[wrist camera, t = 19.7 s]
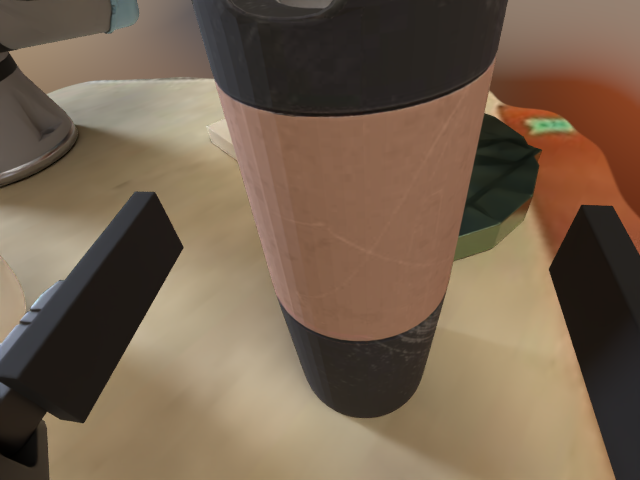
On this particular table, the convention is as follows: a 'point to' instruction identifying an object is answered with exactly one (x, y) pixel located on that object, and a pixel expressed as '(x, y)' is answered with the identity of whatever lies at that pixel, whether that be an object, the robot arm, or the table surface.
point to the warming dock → (497, 187)
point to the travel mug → (356, 170)
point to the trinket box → (10, 300)
